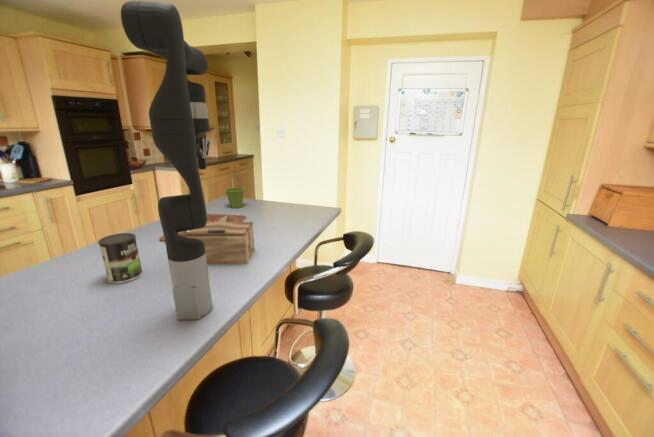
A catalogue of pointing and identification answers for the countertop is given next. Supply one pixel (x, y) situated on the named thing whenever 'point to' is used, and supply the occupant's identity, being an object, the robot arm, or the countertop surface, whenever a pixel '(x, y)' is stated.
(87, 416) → the countertop surface
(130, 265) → the coffee can
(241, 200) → the plant pot
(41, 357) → the countertop surface
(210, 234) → the lid
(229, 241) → the wooden box
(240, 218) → the chopping board
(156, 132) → the robot arm
